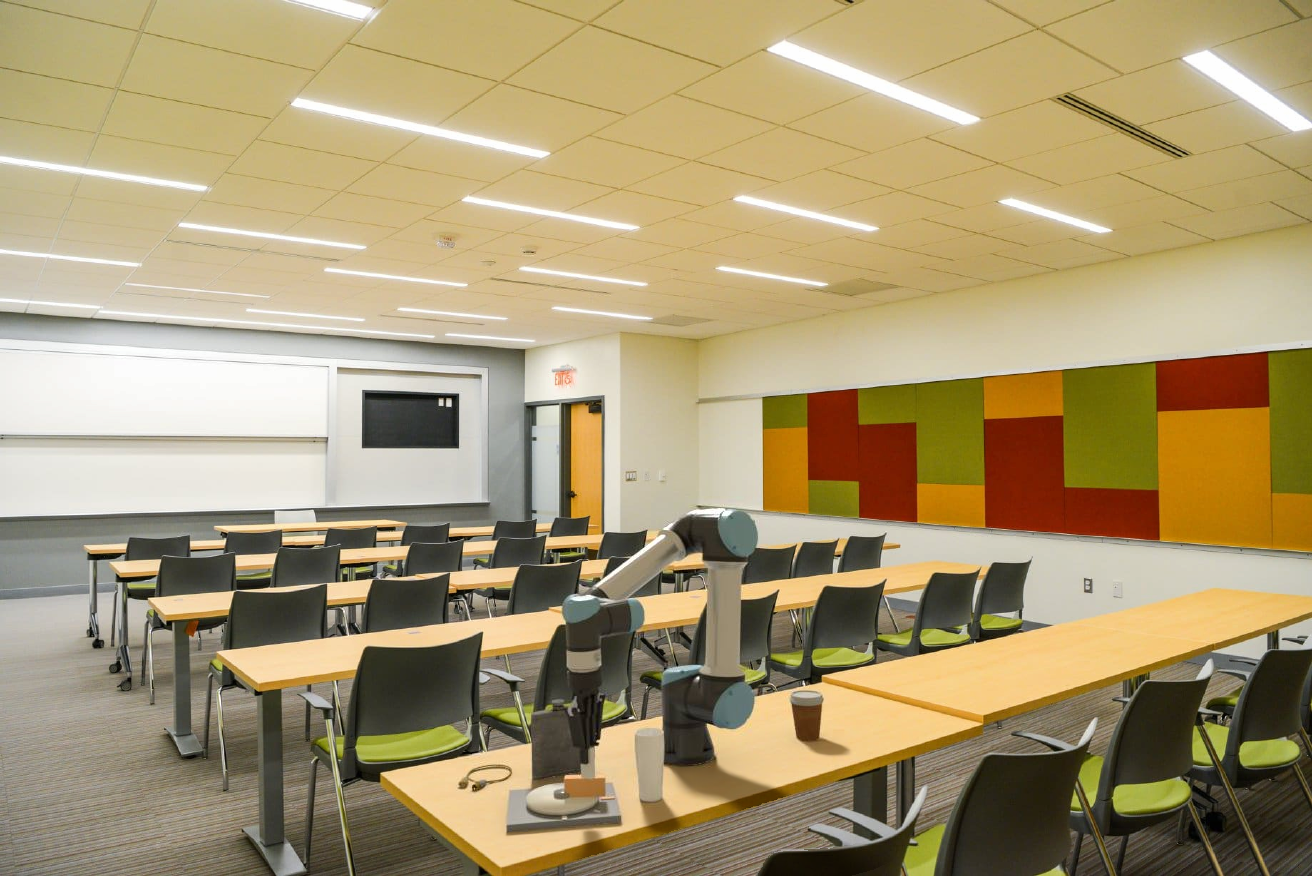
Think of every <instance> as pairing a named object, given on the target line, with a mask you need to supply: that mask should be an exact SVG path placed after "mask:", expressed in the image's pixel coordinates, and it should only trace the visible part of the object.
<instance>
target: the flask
mask: <svg viewBox="0 0 1312 876" xmlns="http://www.w3.org/2000/svg"><path fill="white" fill-rule="evenodd" d="M565 702H566V701H565V699H561V698H560V699H559V698H558V699H553V700H551V705H552V708H548V709H543V710H538V711H533V712H531V714H530V724H531V725H530V726H531V727H530V728H531V729H530V730H531V732H530V733H531V735H530V736H531V779H532V780H533V781H542V780H546V779H551V778H554V777H553V776H555V777H560V776H565V775H564V774H566V775H570V774H569V773H573V774H578V772H581V763H580V749H579V748H574V747H573V743H572V738H571V732H570V727H569V721H568V717H567V715H566V713H565V707H566V706H567V707H570V705H565ZM550 777H551V778H550ZM545 778H546V779H545Z"/></svg>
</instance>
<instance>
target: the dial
mask: <svg viewBox="0 0 1312 876" xmlns="http://www.w3.org/2000/svg"><path fill="white" fill-rule="evenodd" d="M563 778H564V779H563V782H556V783H550V784H545V785H543V786H539V787H535V788H536V789H534V790H533V791H531V792H530V793H529V794H528V795H527V798H526V804H527V807H528V808H529V809H530V810H532V811H534V812H536V813H540V814H545V815H568V814H575V813H579V812H583V811H585V810H588V809H590V808H592V807H594V806H595V805H596V804H597V803H598V801H599V796H605V794H606V783H607V782H606V773H601V774H600V773H595V778H593V779H586V778H581V774H566V775H564V777H563Z"/></svg>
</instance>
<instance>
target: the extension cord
mask: <svg viewBox="0 0 1312 876" xmlns="http://www.w3.org/2000/svg"><path fill="white" fill-rule="evenodd" d="M486 768H487V769H495V768H497V769H498V768H499V769H500V768H501V769H505V768H506V769H505V770H507V769H508V771H509V774H508V775H507V776H505V777H503V778H500V779H494V780H486V779H479V780H474V779H471V778H470V777H469V773H470V774H471V773H473V772H472V771H474V772H477V771H482V770H487V769H486ZM480 769H481V770H480ZM510 771H511V772H510ZM511 774H512V775H513V769H512V768H511V767H510V766H508V765H506V764H487V765H481V766H477V767H475V768H473V769H471V770H469V771H468V772H467V774H466V775H465V777H464V776H463V777H462V779H460V781H459V782H458V786H459V788H460V787H462V788H468V786H469V781H471V782H473V781H476V782H474V783H473V784H471V789H472V791H475V790H476V792H477V791H479V790H480V789H479V788H481V789H482V788H483V787H484V786H486V784H495V782H501V781H505V780H507V779H509V778H510V777H511V776H512V775H511ZM509 776H510V777H509ZM506 778H507V779H506ZM469 779H470V780H469ZM474 788H476V789H475V790H474Z"/></svg>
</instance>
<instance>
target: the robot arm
mask: <svg viewBox="0 0 1312 876" xmlns="http://www.w3.org/2000/svg"><path fill="white" fill-rule="evenodd" d="M758 543H759V532H758V528H757V525H756V523H755V521H754V519H752V517H751V515H750V514H748V513H747V512H746V511H744V510H741V509H734V508H698V509H694V510H691V511H688V512H686V513H684V514H682V515H681V516H678V517H677V518H676V519H674V520H673V521H671V522H669V523H668V524H667V525H666V526H664V527H663V528H662V529H660V530H659V531H658V533H657V536H656V537H655V539H654V540H652V541H651V542H649V543H648V544H647V545H645V546H644V547H643V548H642V549H640V550H639V551H637V552H636V553H635V554H634V555H632V556H631V557H630V558H629V559H627V560H626V561H624V562H623V563H621V564H620V565H619V566H618V567H617V568H615V569H613V571H611V572H610V573H608V574H607V575H606V576H605V577H603V578H602V579H601V580H599V581H598V582H596V583H595V584H594V585H593V586H592V587H590V588H589V589H587V590H585V592H583V593H575V594H570V595H568V596H567V597H566V598H565V599H564V601H563V603H562V605H561V615H562V618H563V620H564V621H565V638H566V668H568V670H567V672H566V673H567V674H566V675H567V686H568V688H570V689H571V691H572V694H571V703H570V705H569V706H570V707H567V706H568V705H565V706H566V707H565V713H566V715H567V717H568V721H569V727H570V732H571V738H572V743H573V747H574V748H579V749H580V763H581V773H580V775H581V778H586V779H593V778H595V774H596V763H595V762H596V761H595V760H596V751H595V750H596V749H595V747H598V746H600V742H599V741H600V740H601V738H602V737H601V736H602V726H603V725H602V724H603V715H604V705H605V700H606V697H607V696H606V694H605V693H601V692H600V689H599V688H600V687H601V686H603V672H602V671H603V670H602V668H601V666H602V649H601V648H602V638H606V637H613V636H617V635H622V634H630V633H632V632H635V631H636V632H637V631H638V630H640V629H641V628H642V627H643V626H644V623H645V617H646V615H645V614H646V613H645V612H646V611H645V609H644V606H643V605H642V603H641V601H639V599H636V598H633V597H632V598H629V597H631V596H632V595H633V594H634V593H635V594H636V592H637V591H639V590H640V589H641V588H642V587H643V586H645V585H647V583H649V582H650V581H651V580H653V579H654V578H655V577H656V576H658V575H659V574H660V573H661V572H662V571H664V570H665V569H666V568H667V567H669V566H671V564H673V563H674V562H681V561H682V560H684V559H685V558H687V557H688V556H690V555H694V554H702V555H701V556H702V557H701V560H702V563H703V564H704V565H705V566H706V568H707V585H706V586H707V589H706V591H707V592H706V595H707V596H706V624H705V625H706V628H705V629H706V631H705V659H704V660H705V662H704V665H701V664H690V665H689V664H688V665H681V666H680V665H679V666H674V667H670V668H666V669H664V671H663V672H662V674H661V684H660V689H661V713H662V714H661V715H662V728H661V730H663V731H664V764H667V763H669V764H668V765H672V764H673V765H675V766H696V765H695V764H697V765H700V764H699V763H702V764H705V763H707V762H706V761H708V762H710V761H712V760H713V759H714V758H715V746H714V743H713V740H712V738H711V734H710V731H709V728H708V725H711V726H714V727H716V728H718V729H726V730H737V729H739V728H741V727H742V726H744V725H745V724H746V723H747V721H748V719H750V717H751V716H752V713H753V711H754V708H755V701H756V700H755V699H756V697H755V692H754V690H753V688H752V687H751V685H750V684H749V683H747V682H746V671H745V670H744V669H743V668H742V666H741V665H740V656H741V654H740V652H741V651H740V650H741V649H740V647H741V611H742V610H741V609H742V606H741V605H742V603H741V602H742V570H743V568H744V567H745V566H747V564H749V563H748V561H749V556H751V554H753V553H754V552H755V549H756V548H757V546H758ZM713 757H714V758H713ZM712 758H713V759H712ZM711 759H712V760H711ZM673 765H672V766H673Z"/></svg>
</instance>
